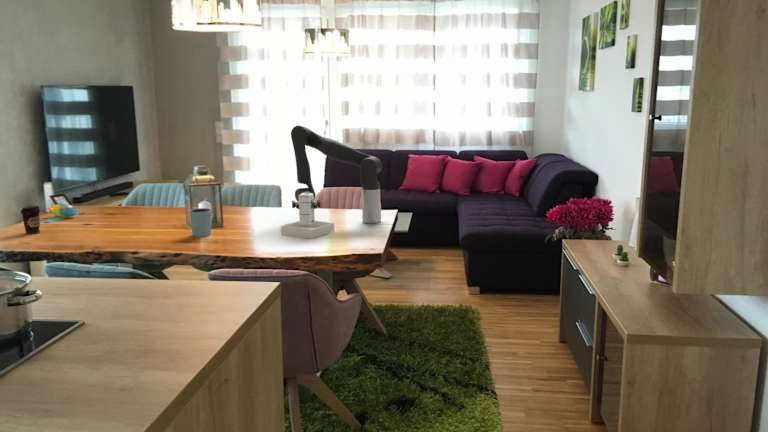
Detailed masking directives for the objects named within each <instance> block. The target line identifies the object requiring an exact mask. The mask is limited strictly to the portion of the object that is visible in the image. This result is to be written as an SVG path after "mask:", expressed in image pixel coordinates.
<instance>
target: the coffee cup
mask: <svg viewBox="0 0 768 432" xmlns="http://www.w3.org/2000/svg"><path fill="white" fill-rule="evenodd" d="M40 212H41V209H40V206H38V205H29V206H28V205H27V206H24V207H22V209H21V210H20V214H21V217H22V221H23V227H24V231H25V234H27V235H35V234H38V233H41V230H40V227H41V223H40V222H41V216H40Z"/></svg>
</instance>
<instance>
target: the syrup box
mask: <svg viewBox="0 0 768 432" xmlns="http://www.w3.org/2000/svg"><path fill="white" fill-rule="evenodd" d="M314 201H315V199H314V194H313V193H302V194H300V195H299V209H298V213H299V218H298V219H299V221H300V224H302V225H311V224H312V223H314V222H315V221H316V220H315V209H314Z"/></svg>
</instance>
